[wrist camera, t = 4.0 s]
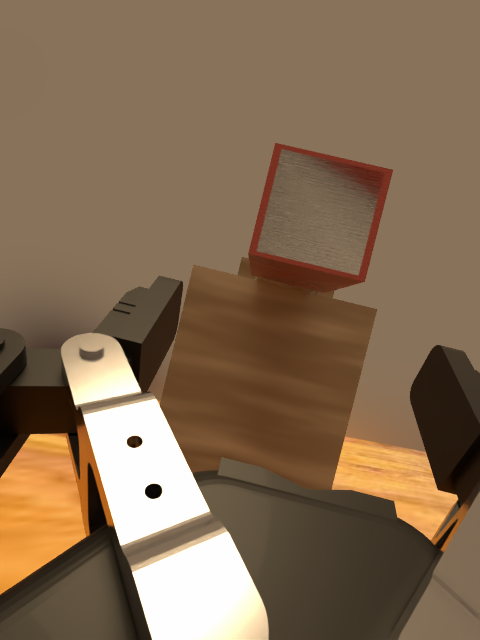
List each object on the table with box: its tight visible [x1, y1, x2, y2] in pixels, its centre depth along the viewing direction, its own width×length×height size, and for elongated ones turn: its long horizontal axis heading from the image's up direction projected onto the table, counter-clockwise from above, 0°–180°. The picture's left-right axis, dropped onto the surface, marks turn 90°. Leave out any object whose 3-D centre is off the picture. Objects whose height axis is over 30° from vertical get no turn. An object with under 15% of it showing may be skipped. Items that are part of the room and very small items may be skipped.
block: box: [248, 143, 393, 293], centre depth 31 cm, size 36×4×9 cm, turn 177°
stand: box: [160, 257, 377, 490], centre depth 33 cm, size 16×14×33 cm
